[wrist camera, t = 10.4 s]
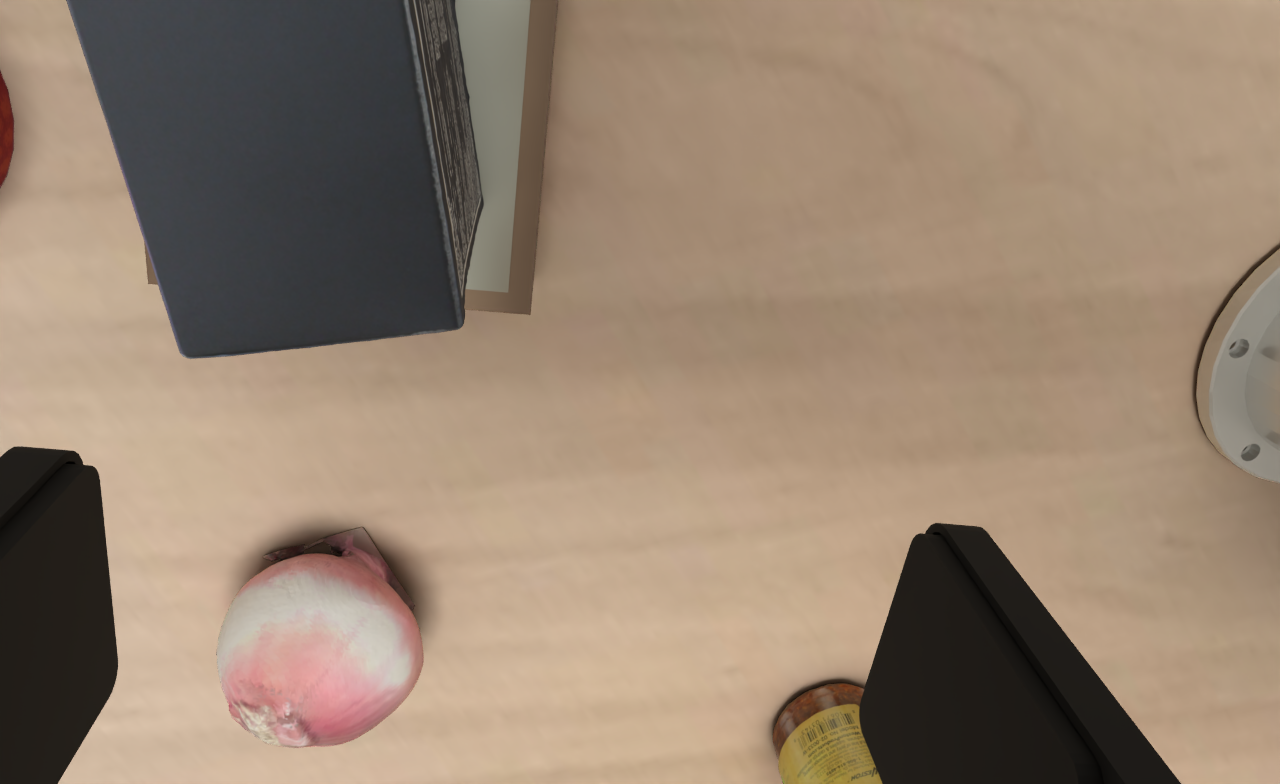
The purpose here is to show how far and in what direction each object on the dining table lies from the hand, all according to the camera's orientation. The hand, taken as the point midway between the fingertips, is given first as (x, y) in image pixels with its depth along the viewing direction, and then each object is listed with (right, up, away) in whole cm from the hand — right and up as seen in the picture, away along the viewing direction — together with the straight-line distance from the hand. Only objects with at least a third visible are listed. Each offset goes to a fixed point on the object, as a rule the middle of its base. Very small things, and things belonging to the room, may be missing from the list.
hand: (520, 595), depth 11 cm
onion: (-12, -6, +29) cm, 32 cm away
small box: (-7, +12, +16) cm, 22 cm away
